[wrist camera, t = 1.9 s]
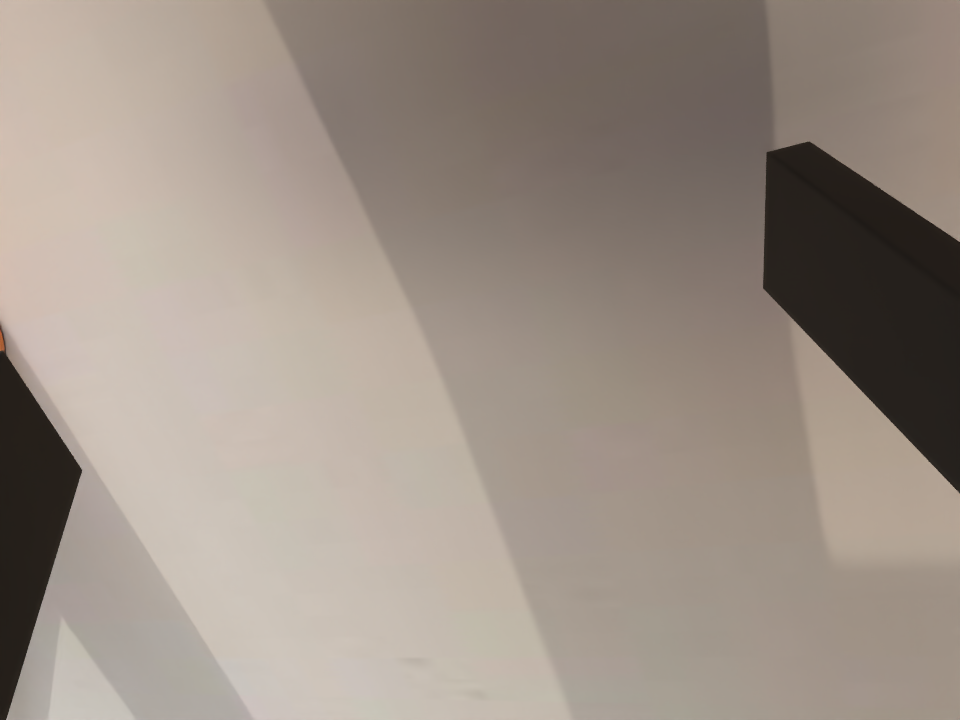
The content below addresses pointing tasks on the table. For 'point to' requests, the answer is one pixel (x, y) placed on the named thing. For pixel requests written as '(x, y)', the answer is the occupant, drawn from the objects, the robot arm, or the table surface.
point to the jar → (1, 343)
